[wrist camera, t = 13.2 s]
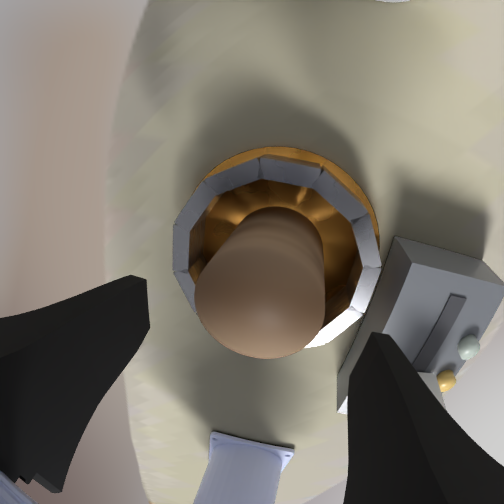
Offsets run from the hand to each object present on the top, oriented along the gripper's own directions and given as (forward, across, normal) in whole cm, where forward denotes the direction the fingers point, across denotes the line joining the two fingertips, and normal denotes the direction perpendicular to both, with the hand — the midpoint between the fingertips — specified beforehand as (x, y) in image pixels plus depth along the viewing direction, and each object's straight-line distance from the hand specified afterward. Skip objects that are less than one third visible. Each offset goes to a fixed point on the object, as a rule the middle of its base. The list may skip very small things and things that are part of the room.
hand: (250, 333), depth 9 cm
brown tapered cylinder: (+6, 0, 0) cm, 6 cm away
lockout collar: (+6, 0, 0) cm, 6 cm away
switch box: (+6, -8, +3) cm, 11 cm away
